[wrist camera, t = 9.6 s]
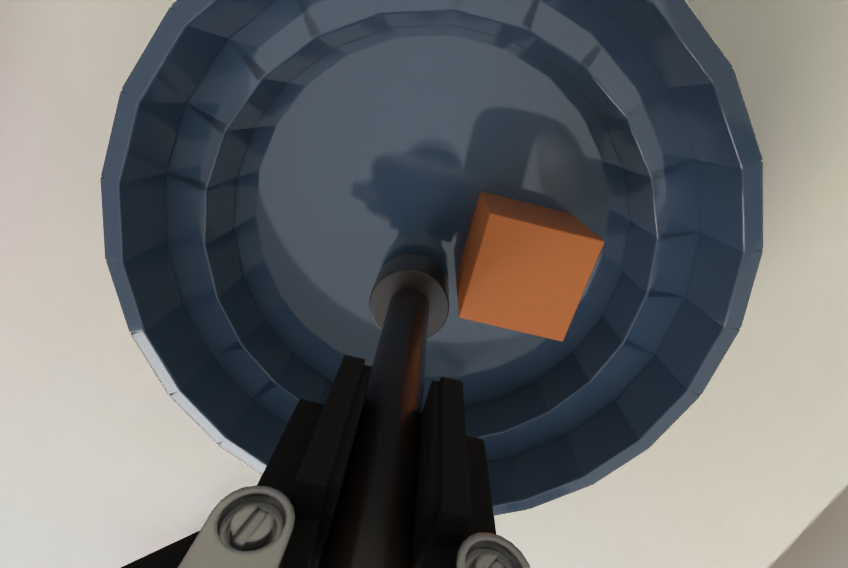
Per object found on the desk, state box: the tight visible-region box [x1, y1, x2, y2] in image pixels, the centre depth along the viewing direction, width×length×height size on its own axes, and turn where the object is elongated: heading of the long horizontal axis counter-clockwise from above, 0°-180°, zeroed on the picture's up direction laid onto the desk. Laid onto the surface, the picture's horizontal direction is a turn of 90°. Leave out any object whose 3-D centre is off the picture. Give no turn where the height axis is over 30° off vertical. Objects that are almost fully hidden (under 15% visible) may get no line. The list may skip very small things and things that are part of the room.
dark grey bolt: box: [317, 254, 449, 568], centre depth 12 cm, size 3×3×14 cm
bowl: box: [101, 0, 763, 515], centre depth 17 cm, size 21×21×6 cm
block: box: [456, 192, 604, 341], centre depth 17 cm, size 4×4×4 cm
